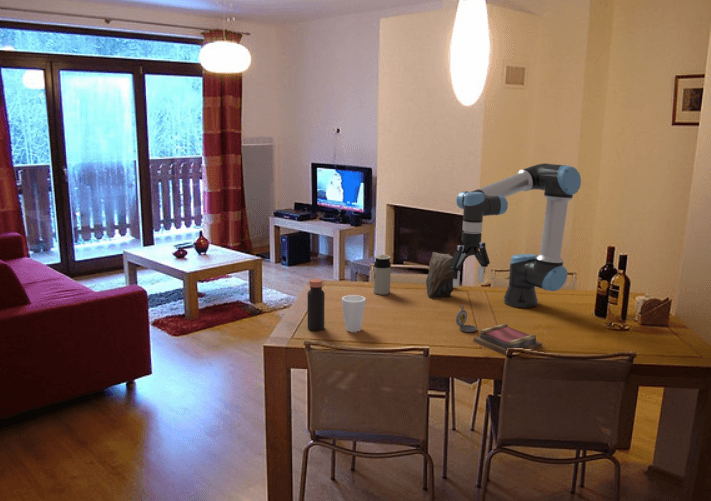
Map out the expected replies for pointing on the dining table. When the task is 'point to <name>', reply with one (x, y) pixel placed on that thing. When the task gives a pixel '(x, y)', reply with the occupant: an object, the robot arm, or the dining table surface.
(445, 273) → the grey rough lump
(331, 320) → the dining table surface
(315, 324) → the bottle
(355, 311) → the foam cup
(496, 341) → the stand
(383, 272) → the travel mug
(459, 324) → the pocket watch
